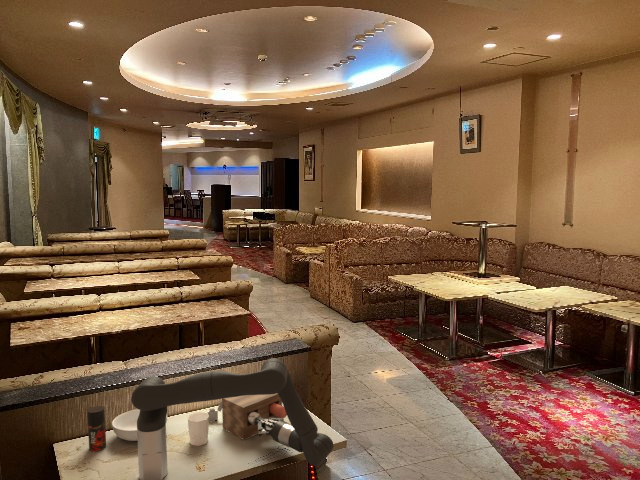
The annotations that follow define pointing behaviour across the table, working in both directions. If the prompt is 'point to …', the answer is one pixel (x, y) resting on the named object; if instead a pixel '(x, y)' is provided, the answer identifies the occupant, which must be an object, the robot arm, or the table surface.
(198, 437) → the white cup
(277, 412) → the red plug
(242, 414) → the socket block
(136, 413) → the serving bowl
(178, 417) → the table surface
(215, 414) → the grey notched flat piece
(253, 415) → the grey plug
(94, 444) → the deodorant
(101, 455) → the table surface
